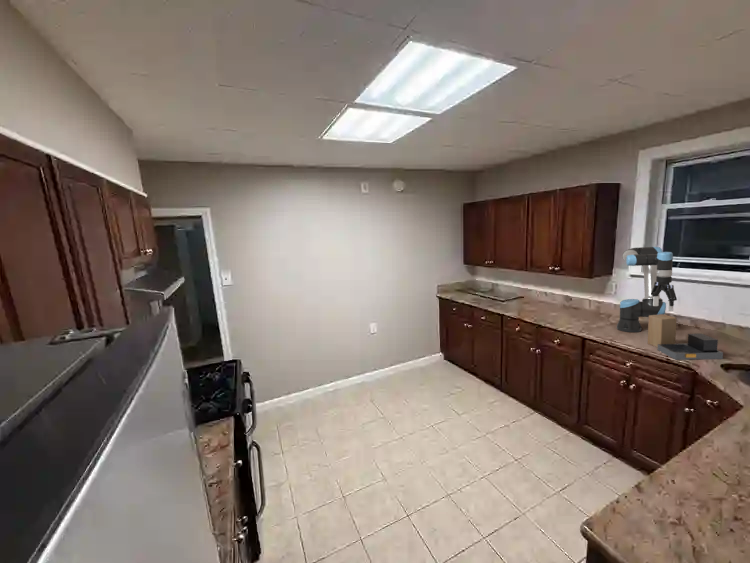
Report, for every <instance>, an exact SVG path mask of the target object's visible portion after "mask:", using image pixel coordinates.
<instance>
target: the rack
mask: <svg viewBox="0 0 750 563" xmlns="http://www.w3.org/2000/svg"><path fill="white" fill-rule="evenodd" d="M687 335H688V336H687V343H675V344H658V347H657V351H658V350H659V352H660V351H661V352H660V353H662V354H664V355H666V356H668V357H670V358H672V359H674V360H676V361H680V360H682V361H685V360H689V361H691V360H692V361H693V360H723V359H724V351H720V350H718V345H719V343H718V342H719V340H718V339H717V338H715V337H714V338H713V337H712V336H708V335H706V334H704V333H688V334H687Z"/></svg>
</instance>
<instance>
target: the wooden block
mask: <svg viewBox="0 0 750 563" xmlns="http://www.w3.org/2000/svg"><path fill="white" fill-rule="evenodd" d="M647 329H648V330H647V344H648V345H649V346H653V347H655V348H658V344H676V338H677V337H676V336H677V317H675V316H671V315H667V314H660V315H649V317H648V326H647Z"/></svg>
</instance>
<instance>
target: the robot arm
mask: <svg viewBox="0 0 750 563" xmlns="http://www.w3.org/2000/svg"><path fill="white" fill-rule="evenodd" d="M621 258H622V260H623V261H624V262H625V264H626V266H627V267H628V266H629V267H636V266H642V267H643V283H644V284H643V285H644V286H643V289H644V297H643V298H642V299H641V300H642V301H640V299H638V298H636V299H635V298H628V299H627V298H626V299H623V300H621V301H620V303H619V319H618V322H617V323H616V329H617V330H618V331H621V332H627V333H639V332H641V331H642V326H641V323H640V320H639V318H649V315H660V314H664V315H666V314H665V313H666V310H667V312H673V311H674V305H675V304H674V302H675V301H677V300H678V299H677V296H676V292H675V287H674V284H670V283H672V281H673V277H672V276H673V259H674V253H673V252H672V251H663V250H662V248H661V247H659V246H647V247H644V246H643V247H631V248H628V249H626V250H625V251H624V252H623V253H622V254H621ZM662 291H663V292H664V293H665V295H666V297H667V298H668V300H667V303H666V301H663V300H664V299H662V297H661V296H660V295H661V294H660V293H661V292H662ZM666 304H667V305H666Z"/></svg>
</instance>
